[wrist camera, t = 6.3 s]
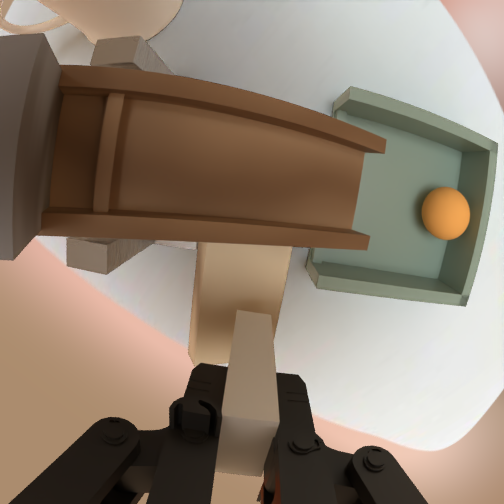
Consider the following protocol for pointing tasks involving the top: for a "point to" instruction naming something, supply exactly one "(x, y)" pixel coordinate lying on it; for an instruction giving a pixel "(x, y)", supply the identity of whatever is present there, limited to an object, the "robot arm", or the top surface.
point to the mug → (104, 17)
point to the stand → (112, 249)
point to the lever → (175, 175)
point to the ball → (445, 213)
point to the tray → (410, 205)
